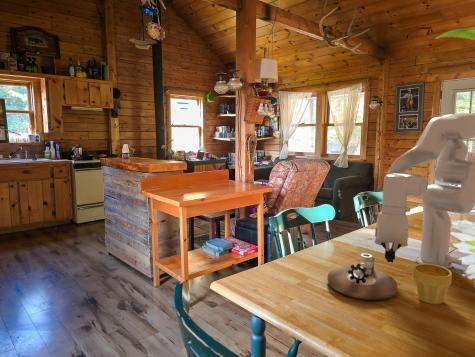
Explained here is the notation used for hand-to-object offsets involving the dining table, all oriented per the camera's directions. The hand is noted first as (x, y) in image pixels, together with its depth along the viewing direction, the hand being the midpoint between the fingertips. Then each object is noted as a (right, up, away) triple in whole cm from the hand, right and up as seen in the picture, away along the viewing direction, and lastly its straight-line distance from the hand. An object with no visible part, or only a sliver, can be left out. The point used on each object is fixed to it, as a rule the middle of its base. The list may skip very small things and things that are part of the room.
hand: (389, 260), depth 118 cm
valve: (-11, -5, -4) cm, 13 cm away
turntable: (-12, -6, -5) cm, 15 cm away
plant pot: (+6, -9, -14) cm, 17 cm away
